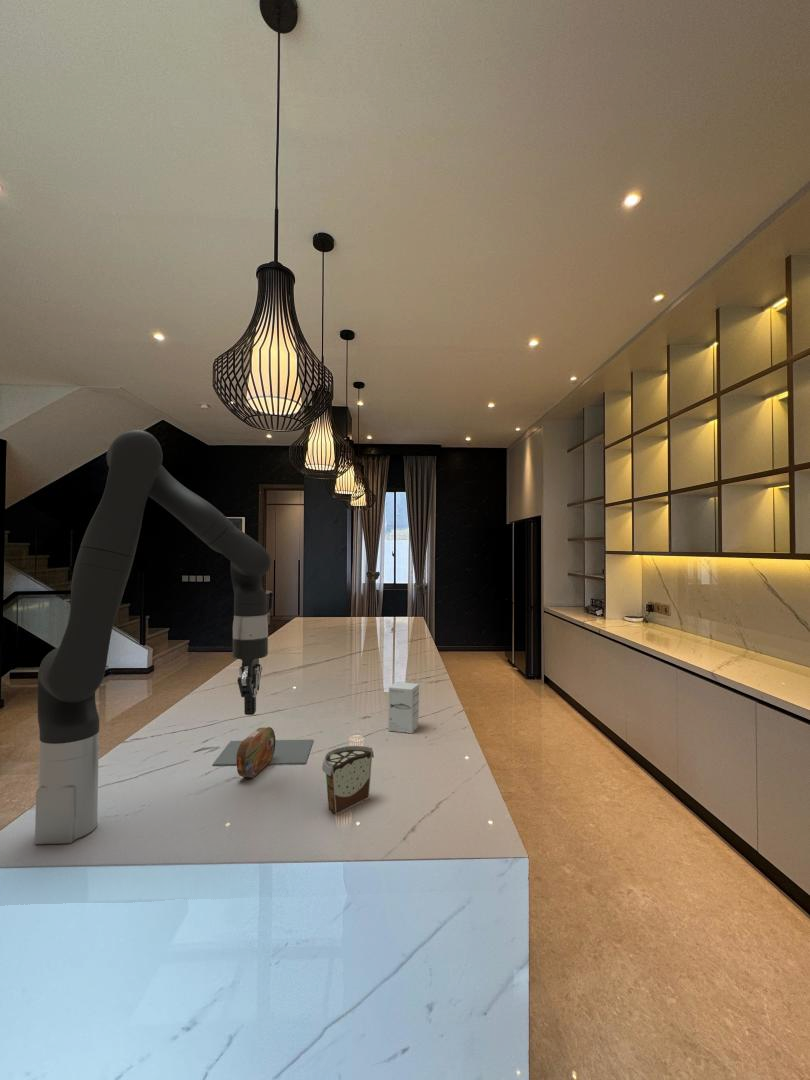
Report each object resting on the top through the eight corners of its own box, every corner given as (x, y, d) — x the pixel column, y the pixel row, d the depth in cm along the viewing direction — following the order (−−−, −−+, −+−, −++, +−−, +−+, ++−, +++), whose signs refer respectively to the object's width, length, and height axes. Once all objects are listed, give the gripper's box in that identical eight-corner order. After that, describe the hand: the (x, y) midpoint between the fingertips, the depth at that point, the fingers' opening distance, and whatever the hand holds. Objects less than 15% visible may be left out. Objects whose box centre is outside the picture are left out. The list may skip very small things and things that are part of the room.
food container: (352, 787, 115) (353, 740, 115) (373, 795, 111) (374, 747, 111) (308, 808, 105) (309, 757, 105) (330, 818, 101) (330, 765, 101)
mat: (305, 764, 127) (305, 762, 127) (212, 765, 126) (212, 764, 126) (313, 740, 143) (313, 739, 143) (230, 742, 142) (230, 740, 142)
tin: (246, 784, 116) (246, 746, 116) (233, 783, 117) (233, 745, 117) (276, 756, 131) (276, 722, 131) (264, 755, 131) (264, 721, 131)
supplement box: (387, 731, 151) (387, 687, 152) (395, 723, 158) (395, 681, 159) (412, 734, 149) (412, 688, 149) (419, 726, 156) (419, 682, 156)
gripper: (261, 640, 111) (261, 723, 111) (273, 630, 124) (273, 705, 124) (224, 640, 111) (224, 724, 110) (240, 631, 124) (240, 705, 124)
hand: (250, 713), depth 117 cm, fingers closed
